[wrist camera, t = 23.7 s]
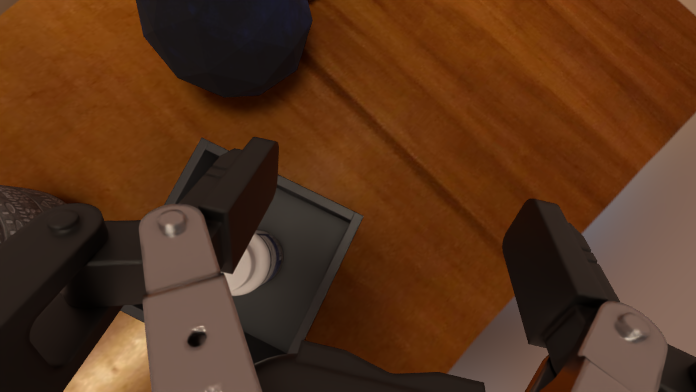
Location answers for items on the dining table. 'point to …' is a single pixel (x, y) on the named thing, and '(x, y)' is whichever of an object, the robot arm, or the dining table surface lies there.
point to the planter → (22, 208)
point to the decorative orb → (228, 41)
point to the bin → (297, 265)
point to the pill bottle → (256, 264)
